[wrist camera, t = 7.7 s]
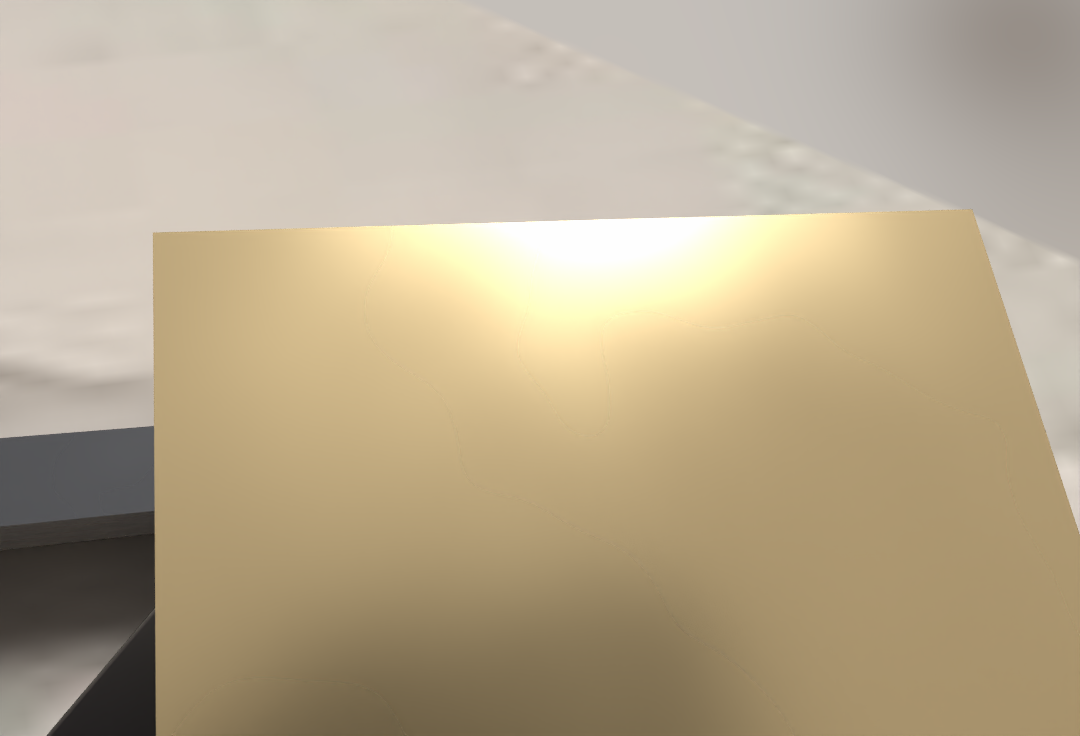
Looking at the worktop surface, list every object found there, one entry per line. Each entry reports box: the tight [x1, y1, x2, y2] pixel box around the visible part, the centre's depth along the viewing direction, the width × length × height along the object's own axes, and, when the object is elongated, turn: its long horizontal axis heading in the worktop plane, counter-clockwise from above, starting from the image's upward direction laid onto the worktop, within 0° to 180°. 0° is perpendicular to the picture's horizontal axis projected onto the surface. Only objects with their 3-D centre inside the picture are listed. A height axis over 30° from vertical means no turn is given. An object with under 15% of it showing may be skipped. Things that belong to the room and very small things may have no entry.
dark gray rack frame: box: [0, 426, 155, 550], centre depth 15 cm, size 9×15×2 cm, turn 98°
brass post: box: [153, 209, 1080, 736], centre depth 9 cm, size 4×4×12 cm
